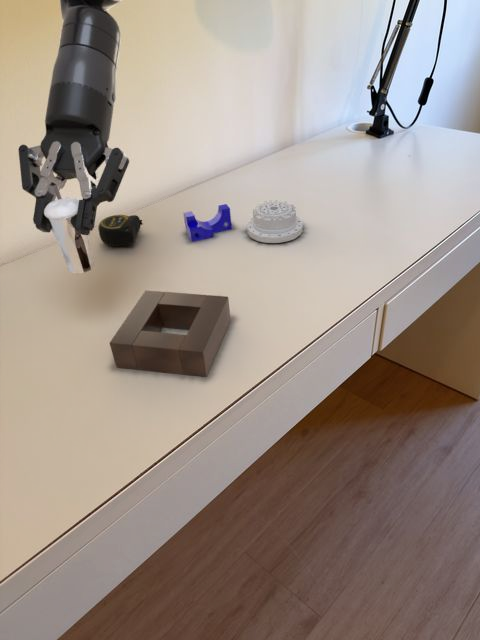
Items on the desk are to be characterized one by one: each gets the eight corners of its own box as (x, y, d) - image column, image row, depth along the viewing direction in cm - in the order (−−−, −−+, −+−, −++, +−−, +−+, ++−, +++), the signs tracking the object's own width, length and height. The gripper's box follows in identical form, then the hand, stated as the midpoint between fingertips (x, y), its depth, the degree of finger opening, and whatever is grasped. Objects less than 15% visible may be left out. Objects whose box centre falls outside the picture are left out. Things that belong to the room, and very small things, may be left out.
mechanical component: (251, 247, 90) (308, 241, 91) (249, 224, 87) (308, 217, 88) (243, 222, 98) (296, 216, 98) (242, 200, 95) (296, 194, 96)
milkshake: (95, 252, 71) (74, 180, 65) (102, 270, 67) (80, 196, 61) (61, 261, 70) (36, 188, 64) (66, 280, 66) (40, 204, 60)
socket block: (116, 367, 67) (109, 342, 64) (150, 313, 76) (145, 290, 73) (206, 377, 65) (202, 352, 62) (230, 320, 74) (228, 296, 71)
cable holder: (191, 241, 93) (188, 220, 90) (186, 233, 95) (183, 212, 93) (234, 232, 95) (232, 211, 92) (228, 224, 97) (226, 204, 95)
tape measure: (135, 250, 91) (130, 230, 89) (96, 250, 92) (91, 230, 89) (144, 231, 96) (140, 212, 94) (108, 232, 97) (103, 213, 95)
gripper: (11, 78, 63) (-12, 218, 61) (123, 79, 60) (102, 224, 59) (47, 113, 70) (27, 238, 68) (148, 115, 67) (130, 244, 66)
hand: (62, 231), depth 64 cm, fingers closed on milkshake, 4 cm apart
